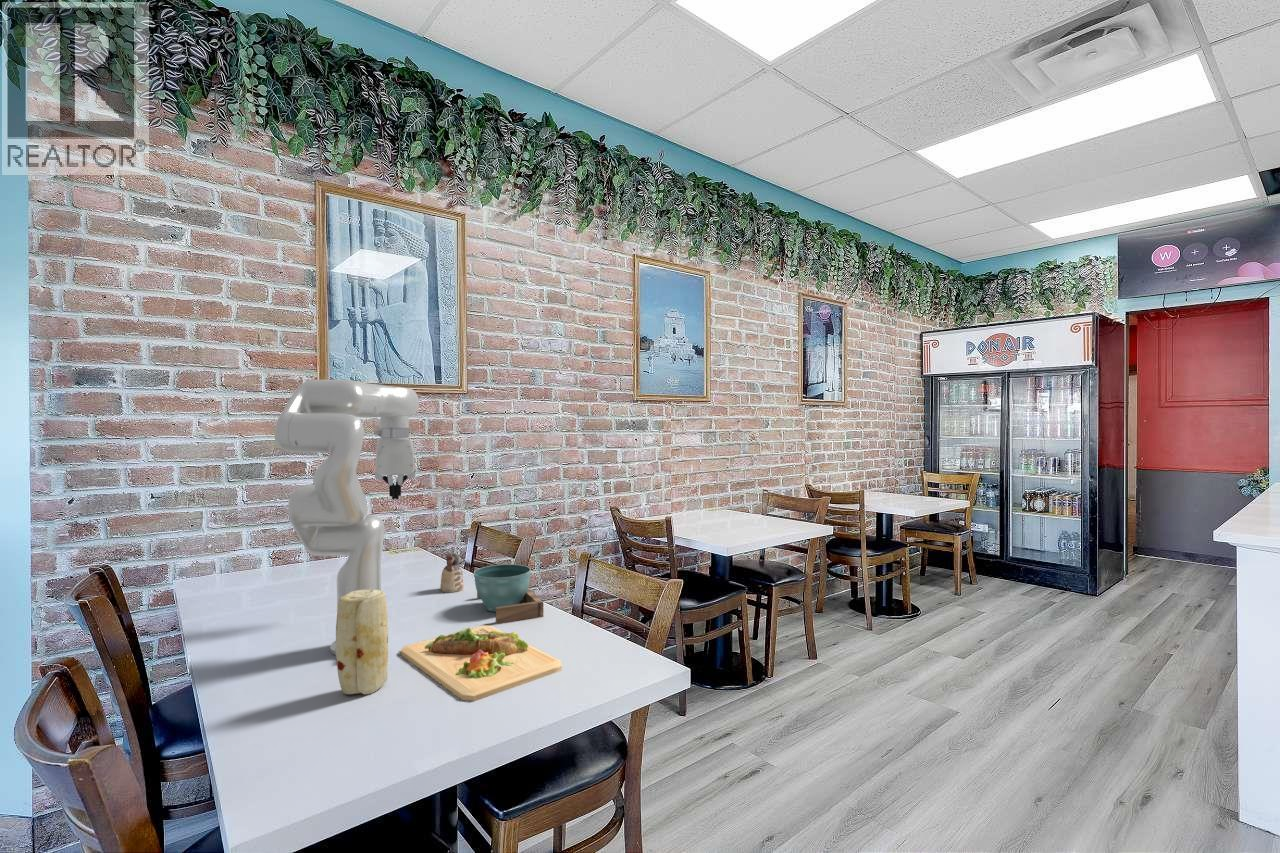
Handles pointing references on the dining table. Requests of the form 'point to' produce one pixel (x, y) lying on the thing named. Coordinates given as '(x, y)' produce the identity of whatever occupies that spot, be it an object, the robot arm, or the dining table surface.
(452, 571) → the figurine
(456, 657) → the cutting board
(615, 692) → the dining table surface
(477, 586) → the flower pot
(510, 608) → the walnut bay
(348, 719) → the dining table surface
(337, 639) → the food model
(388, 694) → the dining table surface
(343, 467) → the robot arm
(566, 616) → the dining table surface
